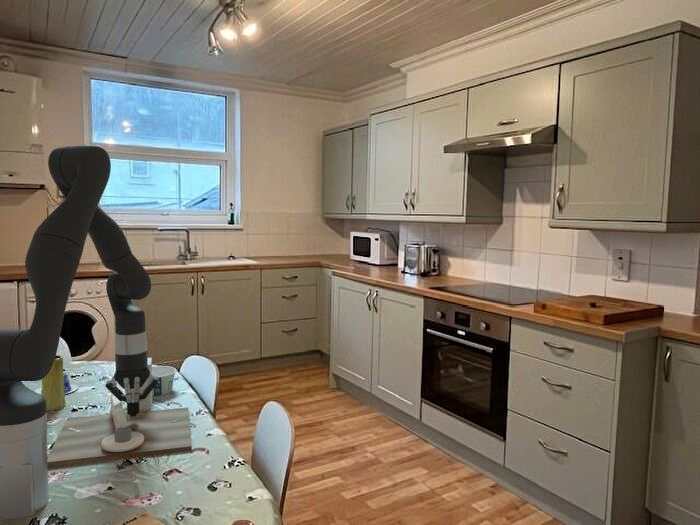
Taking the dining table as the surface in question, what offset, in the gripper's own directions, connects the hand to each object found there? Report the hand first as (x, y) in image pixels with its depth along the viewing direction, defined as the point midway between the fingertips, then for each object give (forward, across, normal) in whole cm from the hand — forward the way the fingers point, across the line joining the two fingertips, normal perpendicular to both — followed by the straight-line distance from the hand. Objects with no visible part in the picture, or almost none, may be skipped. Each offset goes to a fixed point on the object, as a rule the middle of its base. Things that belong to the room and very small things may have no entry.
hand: (133, 415), depth 135 cm
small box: (+4, 0, +16) cm, 17 cm away
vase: (+4, -23, +21) cm, 31 cm away
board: (+3, -1, -6) cm, 7 cm away
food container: (+4, +4, +28) cm, 29 cm away
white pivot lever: (+2, -1, -14) cm, 14 cm away
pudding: (+4, -25, +36) cm, 44 cm away
